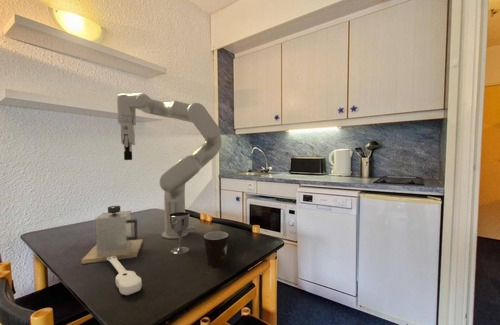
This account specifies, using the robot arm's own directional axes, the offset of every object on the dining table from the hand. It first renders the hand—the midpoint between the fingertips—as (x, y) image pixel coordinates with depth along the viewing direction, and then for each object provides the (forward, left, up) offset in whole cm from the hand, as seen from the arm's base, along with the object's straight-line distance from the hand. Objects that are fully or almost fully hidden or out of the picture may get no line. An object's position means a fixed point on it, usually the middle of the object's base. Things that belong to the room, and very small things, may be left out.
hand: (128, 159), depth 111 cm
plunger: (+3, +17, -35) cm, 39 cm away
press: (+3, +17, -37) cm, 41 cm away
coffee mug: (-34, +41, -37) cm, 65 cm away
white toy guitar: (-4, +40, -37) cm, 55 cm away
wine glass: (-22, +24, -37) cm, 50 cm away
